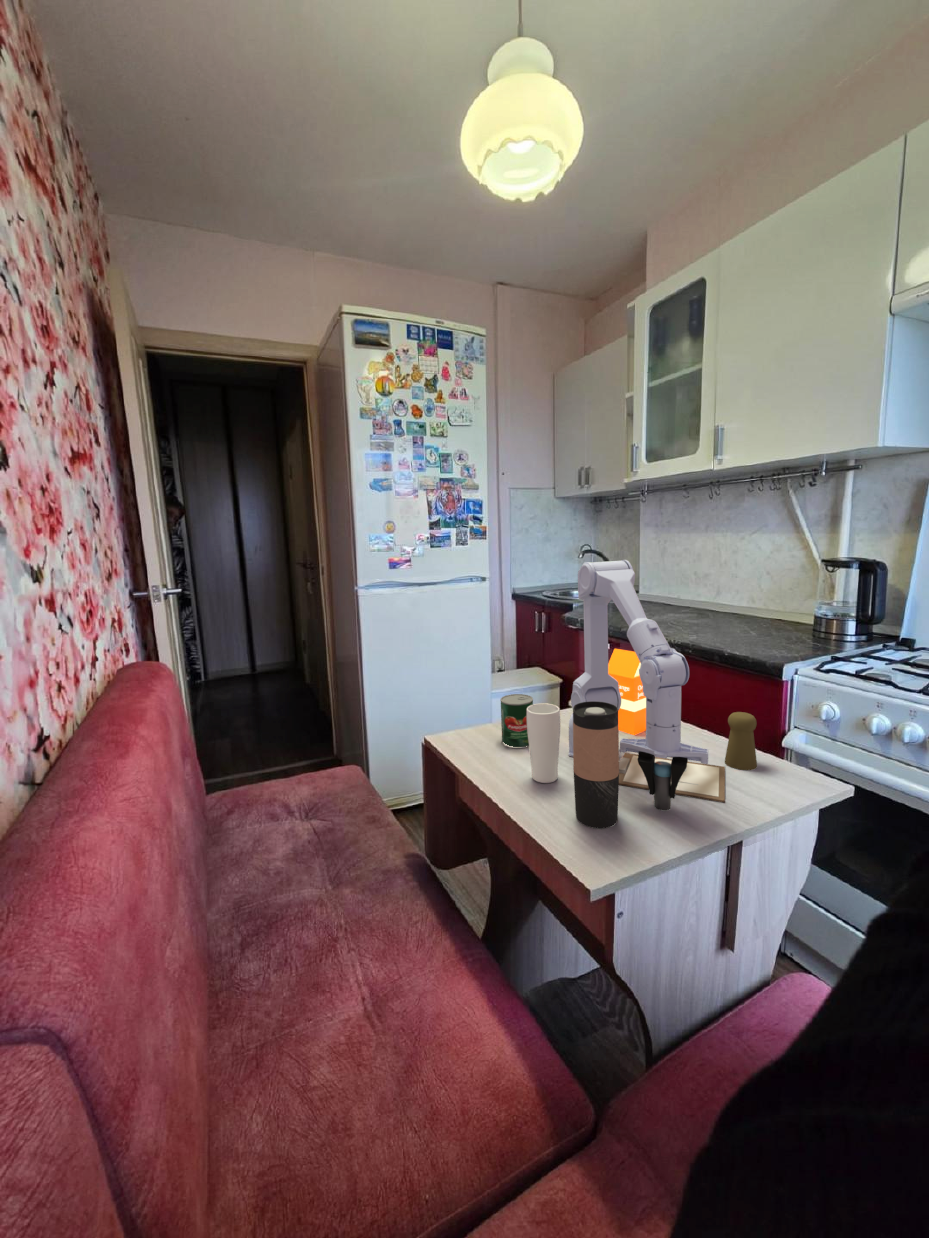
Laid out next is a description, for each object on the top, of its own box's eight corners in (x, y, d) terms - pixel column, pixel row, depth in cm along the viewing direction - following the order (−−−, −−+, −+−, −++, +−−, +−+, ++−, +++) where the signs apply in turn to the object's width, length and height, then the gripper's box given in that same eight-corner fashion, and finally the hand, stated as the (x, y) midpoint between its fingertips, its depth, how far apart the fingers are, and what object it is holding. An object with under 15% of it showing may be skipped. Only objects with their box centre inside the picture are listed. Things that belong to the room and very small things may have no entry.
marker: (652, 809, 91) (652, 766, 90) (654, 801, 94) (654, 760, 92) (670, 812, 90) (671, 769, 88) (671, 804, 92) (672, 762, 91)
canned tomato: (513, 751, 119) (511, 706, 117) (495, 740, 126) (494, 697, 124) (540, 743, 123) (539, 699, 121) (522, 733, 129) (521, 692, 128)
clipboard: (611, 783, 101) (611, 777, 101) (624, 754, 114) (624, 749, 114) (724, 802, 92) (724, 796, 92) (724, 768, 105) (724, 762, 105)
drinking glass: (549, 789, 100) (547, 716, 98) (521, 779, 105) (519, 709, 102) (567, 776, 105) (566, 706, 103) (540, 768, 109) (538, 701, 107)
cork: (761, 770, 103) (763, 719, 102) (729, 769, 104) (731, 718, 103) (751, 758, 109) (753, 709, 107) (720, 757, 110) (722, 708, 109)
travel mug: (617, 807, 92) (617, 701, 89) (620, 831, 85) (620, 716, 82) (574, 804, 94) (572, 700, 91) (573, 827, 86) (571, 714, 83)
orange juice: (623, 719, 136) (623, 646, 133) (652, 727, 129) (653, 650, 126) (604, 726, 132) (604, 650, 129) (633, 735, 125) (634, 656, 122)
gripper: (616, 724, 89) (616, 796, 91) (708, 735, 82) (706, 812, 84) (623, 711, 95) (623, 779, 97) (709, 720, 89) (707, 793, 91)
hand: (662, 794), depth 91 cm, fingers closed on marker, 3 cm apart
